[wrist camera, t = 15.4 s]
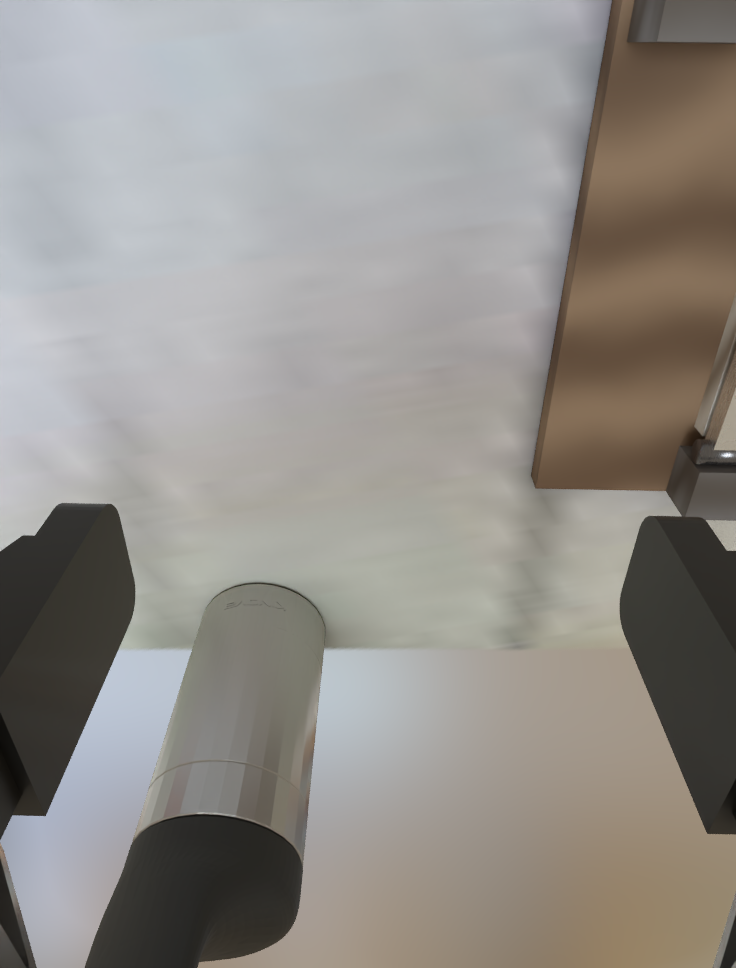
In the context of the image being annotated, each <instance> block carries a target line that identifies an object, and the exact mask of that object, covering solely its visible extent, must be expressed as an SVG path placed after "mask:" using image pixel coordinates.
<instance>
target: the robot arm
mask: <svg viewBox="0 0 736 968" xmlns="http://www.w3.org/2000/svg"><path fill="white" fill-rule="evenodd" d="M134 605H135V582H134V577H133V573H132V568H131V564H130V560H129V555H128V551H127V547H126V543H125V538H124V534H123V530H122V525H121V521H120V517H119V514H118V511H117V509H116V508H115V507H114V506H113V505H112V504H77V503H61V504H59V505H57V506H56V507H55V508H54V510H53V511H52V512H51V514H50V515H49V517H48V518H47V519H46V521H45V522H44V524H43V525H42V527H41V528H40V529H39V531H38V532H37V534H36V535H35V536H21V537H20V538H19V539H17V540H16V541H14V542H13V543H12V544H10V545H9V546H7V547H6V548H5V549H3V550H2V551H0V839H1V837H2V835H3V833H4V831H5V829H6V827H7V825H8V823H9V821H10V819H11V817H12V815H26V816H46V814H47V811H48V809H49V807H50V805H51V802H52V800H53V797H54V795H55V793H56V791H57V788H58V786H59V784H60V782H61V779H62V777H63V775H64V772H65V770H66V768H67V766H68V763H69V761H70V759H71V756H72V754H73V752H74V750H75V747H76V745H77V743H78V740H79V738H80V736H81V734H82V731H83V729H84V727H85V724H86V722H87V720H88V718H89V715H90V713H91V711H92V708H93V706H94V704H95V702H96V699H97V697H98V695H99V692H100V690H101V688H102V686H103V683H104V681H105V679H106V676H107V674H108V672H109V670H110V667H111V665H112V663H113V660H114V658H115V656H116V653H117V651H118V649H119V647H120V644H121V642H122V640H123V638H124V635H125V633H126V631H127V628H128V626H129V624H130V621H131V619H132V615H133V611H134ZM620 619H621V625H622V629H623V632H624V635H625V637H626V640H627V642H628V645H629V647H630V649H631V651H632V654H633V656H634V659H635V661H636V664H637V666H638V669H639V671H640V673H641V676H642V678H643V680H644V683H645V685H646V688H647V690H648V693H649V695H650V697H651V700H652V702H653V705H654V707H655V709H656V712H657V714H658V716H659V719H660V721H661V724H662V726H663V728H664V731H665V733H666V736H667V738H668V740H669V743H670V745H671V748H672V750H673V753H674V755H675V757H676V760H677V762H678V764H679V767H680V769H681V772H682V774H683V777H684V779H685V781H686V784H687V786H688V788H689V791H690V793H691V796H692V798H693V801H694V803H695V805H696V808H697V810H698V813H699V815H700V817H701V820H702V822H703V825H704V827H705V830H706V832H707V833H708V834H736V551H726V549H725V548H724V546H723V545H722V543H721V542H720V541H719V539H718V538H717V536H716V535H715V533H714V532H713V530H712V529H711V527H710V526H709V525H708V523H707V522H706V521H705V520H704V519H703V518H701V517H675V516H648V517H646V518H645V519H644V521H643V522H642V524H641V526H640V529H639V533H638V536H637V539H636V543H635V546H634V550H633V553H632V557H631V560H630V564H629V567H628V571H627V574H626V577H625V581H624V584H623V588H622V592H621V597H620ZM324 642H325V627H324V623H323V620H322V618H321V616H320V614H319V613H318V611H317V610H316V608H315V607H314V606H313V605H312V604H311V603H310V602H309V601H307V600H306V599H304V598H303V597H301V596H300V595H299V594H297V593H294V592H292V591H290V590H288V589H285V588H281V587H277V586H274V585H265V584H250V585H243V586H238V587H234V588H231V589H229V590H227V591H225V592H222V593H221V594H220V595H218V596H217V597H216V598H214V599H213V600H212V601H211V603H210V604H209V605H208V606H207V608H206V610H205V612H204V615H203V618H202V621H201V624H200V627H199V630H198V633H197V637H196V640H195V643H194V646H193V649H192V652H191V655H190V658H189V662H188V665H187V668H186V671H185V674H184V678H183V681H182V684H181V687H180V690H179V693H178V697H177V700H176V703H175V706H174V709H173V713H172V716H171V719H170V722H169V725H168V729H167V732H166V735H165V738H164V741H163V745H162V748H161V751H160V754H159V757H158V761H157V764H156V767H155V770H154V773H153V777H152V780H151V783H150V786H149V790H148V794H147V797H146V800H145V803H144V806H143V810H142V813H141V816H140V819H139V822H138V826H137V829H136V832H135V835H134V838H133V842H132V845H131V847H130V850H129V853H128V857H127V860H126V863H125V866H124V869H123V872H122V874H121V877H120V879H119V882H118V884H117V886H116V888H115V891H114V893H113V896H112V897H111V900H110V902H109V904H108V907H107V909H106V911H105V913H104V916H103V918H102V921H101V923H100V926H99V928H98V931H97V934H96V936H95V939H94V942H93V945H92V947H91V951H90V954H89V956H88V959H87V962H86V965H85V968H197V967H198V963H199V962H203V961H214V960H222V959H231V958H237V957H241V956H245V955H249V954H252V953H255V952H258V951H261V950H263V949H265V948H267V947H269V946H271V945H273V944H274V943H276V942H278V941H279V940H280V939H282V938H283V937H284V936H285V935H286V934H287V933H288V931H289V930H290V929H291V927H292V925H293V924H294V922H295V919H296V916H297V912H298V909H299V902H300V894H301V884H302V874H303V860H304V849H305V837H306V828H307V817H308V804H309V794H310V784H311V774H312V763H313V753H314V743H315V733H316V722H317V712H318V702H319V691H320V682H321V681H320V680H321V673H322V663H323V652H324ZM0 968H37V967H36V964H35V960H34V957H33V953H32V950H31V946H30V942H29V939H28V935H27V932H26V928H25V925H24V921H23V918H22V914H21V910H20V907H19V903H18V900H17V896H16V893H15V889H14V886H13V882H12V879H11V875H10V871H9V868H8V864H7V861H6V857H5V854H4V850H3V848H2V846H1V844H0ZM713 968H736V893H735V897H734V900H733V903H732V906H731V909H730V913H729V916H728V919H727V922H726V926H725V929H724V932H723V935H722V939H721V942H720V945H719V948H718V952H717V955H716V958H715V961H714V965H713Z"/></svg>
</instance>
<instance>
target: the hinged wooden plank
mask: <svg viewBox="0 0 736 968" xmlns="http://www.w3.org/2000/svg"><path fill="white" fill-rule="evenodd" d="M735 351H736V0H612V6H611V12H610V18H609V24H608V29H607V35H606V41H605V47H604V53H603V59H602V64H601V70H600V76H599V82H598V88H597V94H596V100H595V105H594V111H593V117H592V123H591V129H590V135H589V141H588V146H587V152H586V158H585V164H584V170H583V176H582V181H581V187H580V193H579V199H578V205H577V211H576V217H575V222H574V228H573V234H572V240H571V246H570V252H569V257H568V263H567V269H566V275H565V281H564V287H563V293H562V298H561V304H560V310H559V316H558V322H557V328H556V333H555V339H554V345H553V351H552V357H551V363H550V369H549V374H548V380H547V386H546V392H545V398H544V404H543V410H542V415H541V421H540V427H539V433H538V439H537V445H536V450H535V456H534V462H533V468H532V474H531V476H532V479H533V482H534V485H535V488H542V489H594V490H646V491H666V492H667V493H668V495H669V497H670V498H671V500H672V501H673V503H674V504H675V506H676V507H677V509H678V511H679V512H680V514H681V515H682V517H701V518H703V519H704V520H736V465H702V464H695V463H694V462H693V460H692V454H691V452H692V446H693V443H694V442H695V440H697V439H705V437H706V434H707V431H708V428H709V425H710V423H711V420H712V417H713V414H714V411H715V408H716V405H717V402H718V399H719V397H720V394H721V391H722V388H723V385H724V382H725V379H726V376H727V374H728V371H729V368H730V365H731V362H732V359H733V356H734V353H735Z"/></svg>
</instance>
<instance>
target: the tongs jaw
mask: <svg viewBox="0 0 736 968" xmlns="http://www.w3.org/2000/svg"><path fill="white" fill-rule="evenodd" d="M691 454H692V460H693V462H694V463H695V464H702V465H736V351H735V353H734V356H733V359H732V362H731V365H730V368H729V371H728V374H727V376H726V379H725V382H724V385H723V388H722V391H721V394H720V397H719V399H718V402H717V405H716V408H715V411H714V414H713V417H712V420H711V423H710V425H709V428H708V431H707V434H706V437H705V439H697V440H695V442H694V443H693V446H692V452H691Z"/></svg>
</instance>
